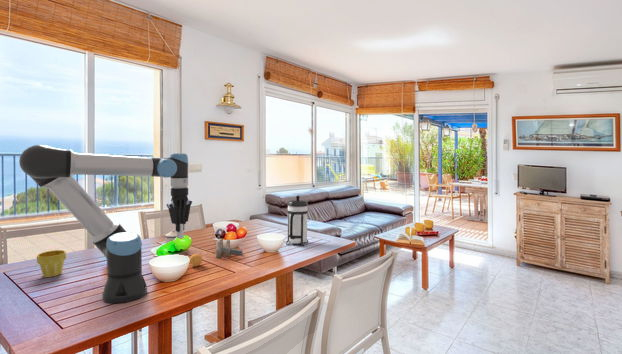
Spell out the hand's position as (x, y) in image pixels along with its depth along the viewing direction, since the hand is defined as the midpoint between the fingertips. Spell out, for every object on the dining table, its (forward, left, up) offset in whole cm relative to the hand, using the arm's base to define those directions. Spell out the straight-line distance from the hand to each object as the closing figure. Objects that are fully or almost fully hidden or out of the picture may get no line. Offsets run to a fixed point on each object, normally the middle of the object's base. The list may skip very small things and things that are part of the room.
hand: (180, 237), depth 157 cm
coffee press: (+69, -23, -16) cm, 75 cm away
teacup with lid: (+23, +32, -16) cm, 43 cm away
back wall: (+34, 0, -16) cm, 38 cm away
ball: (+9, 0, -13) cm, 16 cm away
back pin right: (+30, -2, -16) cm, 34 cm away
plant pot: (-31, +46, -16) cm, 58 cm away
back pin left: (+30, +3, -16) cm, 34 cm away
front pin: (+25, 0, -16) cm, 30 cm away
